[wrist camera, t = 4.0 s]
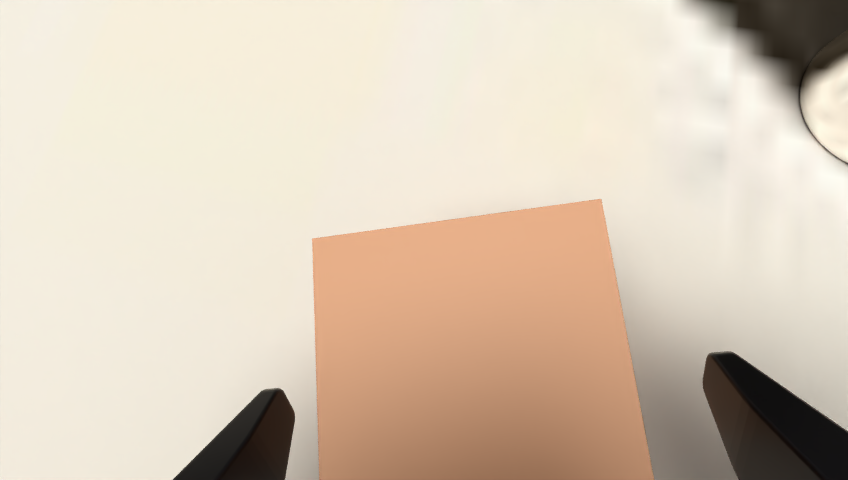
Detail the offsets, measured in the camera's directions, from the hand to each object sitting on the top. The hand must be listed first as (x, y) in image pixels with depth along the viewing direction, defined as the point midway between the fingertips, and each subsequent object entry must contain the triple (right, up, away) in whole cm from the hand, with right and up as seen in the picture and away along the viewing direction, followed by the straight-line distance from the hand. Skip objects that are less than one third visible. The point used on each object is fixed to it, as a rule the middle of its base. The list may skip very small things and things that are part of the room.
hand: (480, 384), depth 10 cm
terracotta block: (+2, -1, +8) cm, 8 cm away
